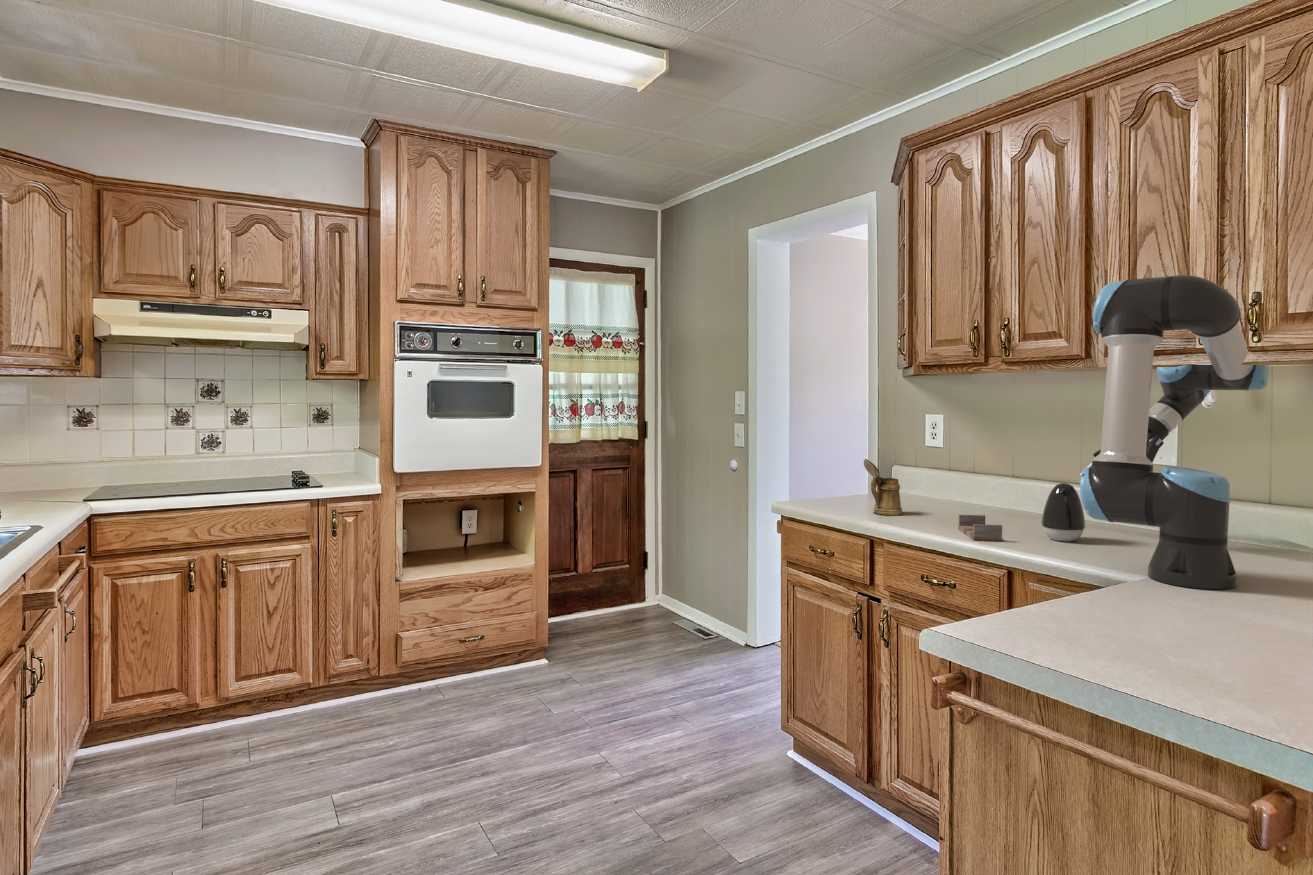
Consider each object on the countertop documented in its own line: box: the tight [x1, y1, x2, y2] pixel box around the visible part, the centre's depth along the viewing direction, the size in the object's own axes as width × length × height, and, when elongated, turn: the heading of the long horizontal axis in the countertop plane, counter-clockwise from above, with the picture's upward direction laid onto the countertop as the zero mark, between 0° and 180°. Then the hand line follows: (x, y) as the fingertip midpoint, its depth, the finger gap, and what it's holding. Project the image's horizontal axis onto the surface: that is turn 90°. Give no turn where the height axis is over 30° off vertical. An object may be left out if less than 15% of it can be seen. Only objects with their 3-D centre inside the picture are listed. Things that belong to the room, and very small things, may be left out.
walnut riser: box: [957, 514, 1003, 542], centre depth 206 cm, size 16×7×4 cm, turn 172°
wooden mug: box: [863, 458, 904, 517], centre depth 240 cm, size 9×14×18 cm, turn 109°
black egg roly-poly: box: [1041, 482, 1086, 543], centre depth 199 cm, size 10×10×15 cm
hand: (1098, 481), depth 199 cm, fingers open, 13 cm apart
